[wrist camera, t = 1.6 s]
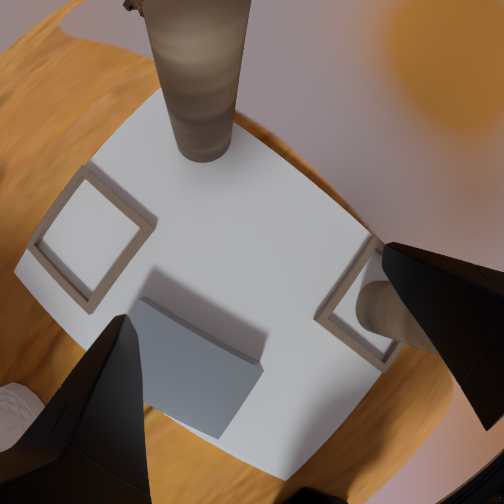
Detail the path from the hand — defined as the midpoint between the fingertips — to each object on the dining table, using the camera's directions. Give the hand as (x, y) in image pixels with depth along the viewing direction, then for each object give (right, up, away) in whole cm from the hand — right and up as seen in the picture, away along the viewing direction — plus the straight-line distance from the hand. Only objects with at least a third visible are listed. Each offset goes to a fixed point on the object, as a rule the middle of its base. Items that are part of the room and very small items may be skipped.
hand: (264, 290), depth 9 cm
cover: (-5, -7, +10) cm, 13 cm away
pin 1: (-4, +9, +11) cm, 15 cm away
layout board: (-2, -1, +12) cm, 12 cm away
